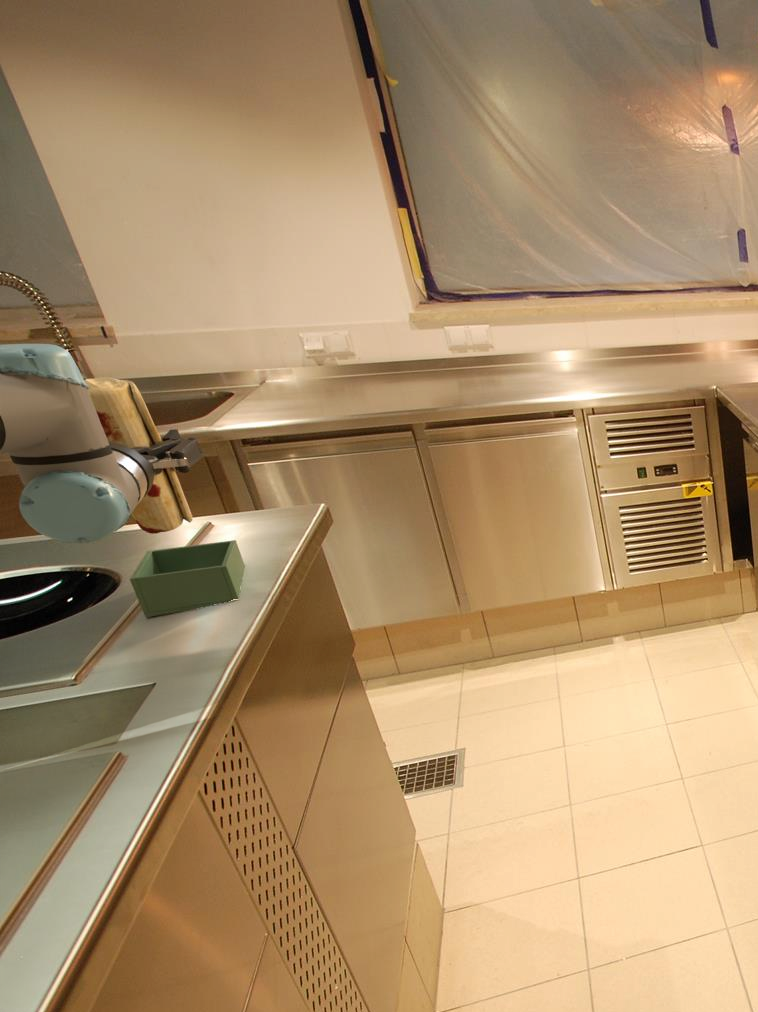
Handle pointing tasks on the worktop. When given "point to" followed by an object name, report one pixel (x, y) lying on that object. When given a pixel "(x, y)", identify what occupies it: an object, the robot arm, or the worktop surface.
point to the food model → (135, 428)
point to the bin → (188, 577)
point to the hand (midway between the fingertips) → (141, 441)
